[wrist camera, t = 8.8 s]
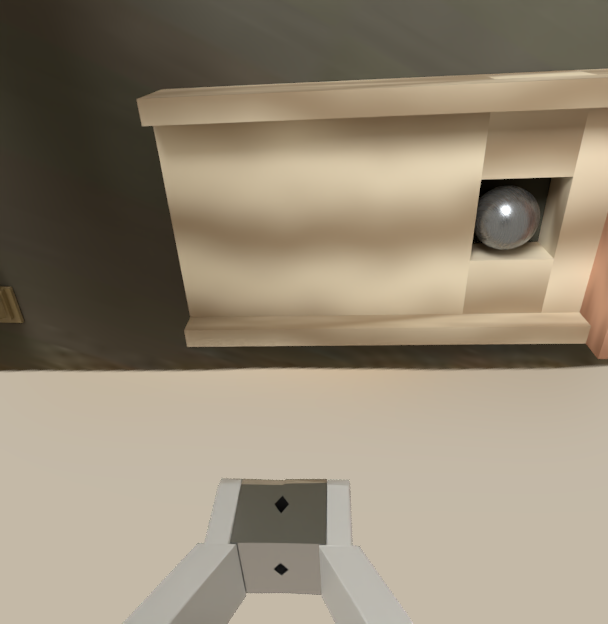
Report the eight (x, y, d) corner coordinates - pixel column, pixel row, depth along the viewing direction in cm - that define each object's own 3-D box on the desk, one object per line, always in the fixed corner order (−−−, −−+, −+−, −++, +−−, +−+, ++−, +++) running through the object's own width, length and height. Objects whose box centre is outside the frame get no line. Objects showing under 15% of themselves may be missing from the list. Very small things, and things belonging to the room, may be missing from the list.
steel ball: (508, 174, 28) (460, 186, 27) (560, 186, 25) (510, 200, 24) (501, 231, 30) (456, 245, 28) (549, 249, 27) (501, 265, 26)
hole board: (162, 88, 26) (124, 103, 21) (651, 66, 24) (727, 77, 20) (202, 313, 33) (180, 361, 28) (582, 308, 31) (626, 358, 27)
